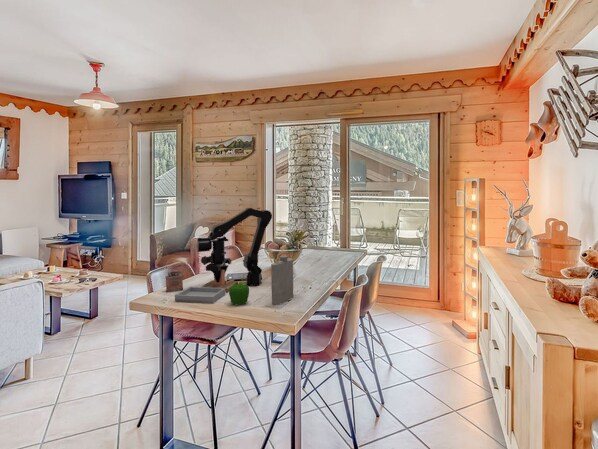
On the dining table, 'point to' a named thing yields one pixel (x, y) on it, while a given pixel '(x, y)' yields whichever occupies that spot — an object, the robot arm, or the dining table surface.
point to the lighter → (174, 281)
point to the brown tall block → (222, 279)
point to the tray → (200, 295)
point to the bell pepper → (239, 293)
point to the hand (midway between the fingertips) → (219, 281)
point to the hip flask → (282, 280)
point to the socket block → (226, 286)
